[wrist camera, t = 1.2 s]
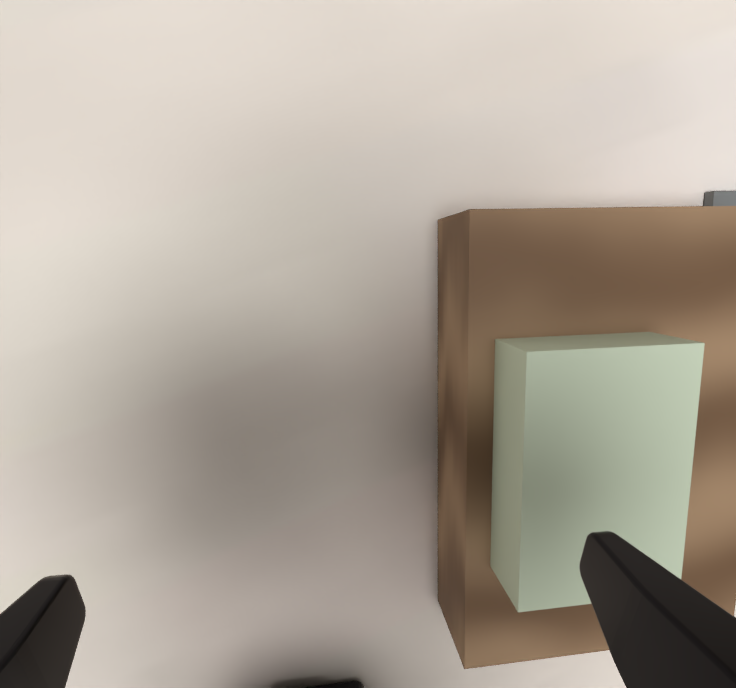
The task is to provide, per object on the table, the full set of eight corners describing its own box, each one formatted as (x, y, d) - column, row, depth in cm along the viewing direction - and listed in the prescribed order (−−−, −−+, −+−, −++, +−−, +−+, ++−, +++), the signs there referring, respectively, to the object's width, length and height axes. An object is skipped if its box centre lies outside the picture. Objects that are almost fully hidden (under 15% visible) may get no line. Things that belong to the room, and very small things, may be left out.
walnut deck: (664, 574, 24) (731, 633, 21) (437, 600, 23) (464, 669, 19) (696, 215, 21) (783, 205, 17) (437, 219, 20) (469, 209, 16)
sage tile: (632, 551, 19) (679, 593, 17) (490, 566, 18) (518, 612, 16) (649, 331, 18) (704, 342, 15) (495, 338, 17) (526, 351, 14)
